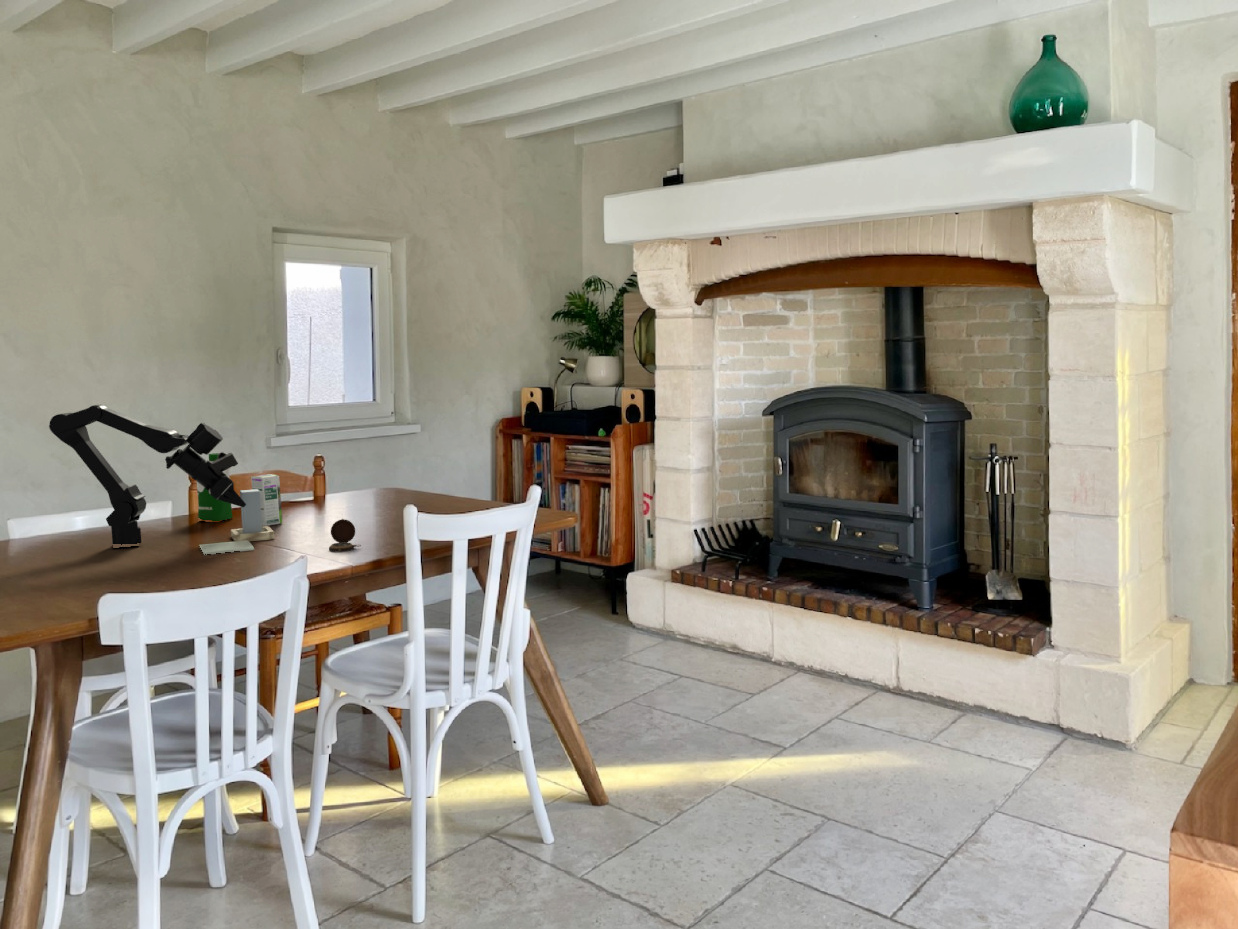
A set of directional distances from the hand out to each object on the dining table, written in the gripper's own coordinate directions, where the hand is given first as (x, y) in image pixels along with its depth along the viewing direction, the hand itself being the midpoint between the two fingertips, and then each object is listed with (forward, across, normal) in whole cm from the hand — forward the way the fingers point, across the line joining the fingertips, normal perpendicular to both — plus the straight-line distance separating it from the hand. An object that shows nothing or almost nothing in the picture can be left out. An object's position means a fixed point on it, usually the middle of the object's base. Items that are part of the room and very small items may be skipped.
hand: (242, 503), depth 271 cm
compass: (+22, -29, -8) cm, 37 cm away
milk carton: (+4, +36, +10) cm, 38 cm away
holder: (+8, 0, +6) cm, 10 cm away
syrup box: (+13, +20, +1) cm, 24 cm away
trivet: (+2, -12, +11) cm, 16 cm away
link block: (+8, 0, +6) cm, 10 cm away
